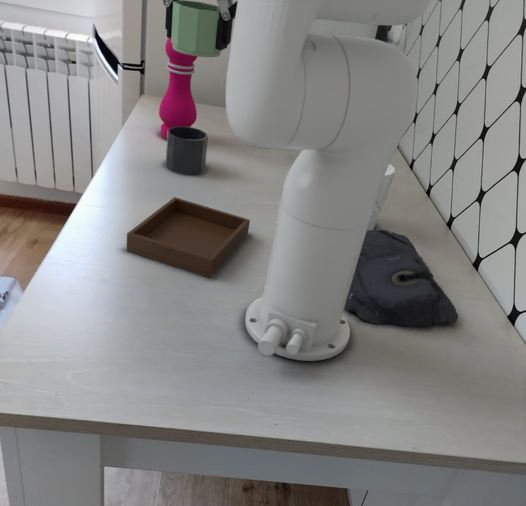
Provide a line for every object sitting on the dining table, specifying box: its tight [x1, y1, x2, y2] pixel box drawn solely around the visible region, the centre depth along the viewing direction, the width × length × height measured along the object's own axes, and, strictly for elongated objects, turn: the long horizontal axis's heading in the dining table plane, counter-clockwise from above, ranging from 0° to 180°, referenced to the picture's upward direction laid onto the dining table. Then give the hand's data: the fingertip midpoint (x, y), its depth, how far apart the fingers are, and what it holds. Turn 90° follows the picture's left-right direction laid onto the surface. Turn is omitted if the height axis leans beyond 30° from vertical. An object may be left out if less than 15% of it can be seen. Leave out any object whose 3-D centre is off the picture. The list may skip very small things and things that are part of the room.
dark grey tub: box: [165, 126, 209, 176], centre depth 103 cm, size 7×7×6 cm
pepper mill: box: [158, 38, 198, 140], centre depth 110 cm, size 7×7×20 cm
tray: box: [126, 197, 251, 278], centre depth 82 cm, size 14×12×3 cm
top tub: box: [171, 0, 223, 58], centre depth 87 cm, size 7×7×6 cm
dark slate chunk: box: [344, 228, 459, 328], centre depth 82 cm, size 15×22×5 cm
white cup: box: [367, 163, 396, 231], centre depth 94 cm, size 8×8×10 cm
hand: (197, 41), depth 88 cm, fingers closed on top tub, 7 cm apart
